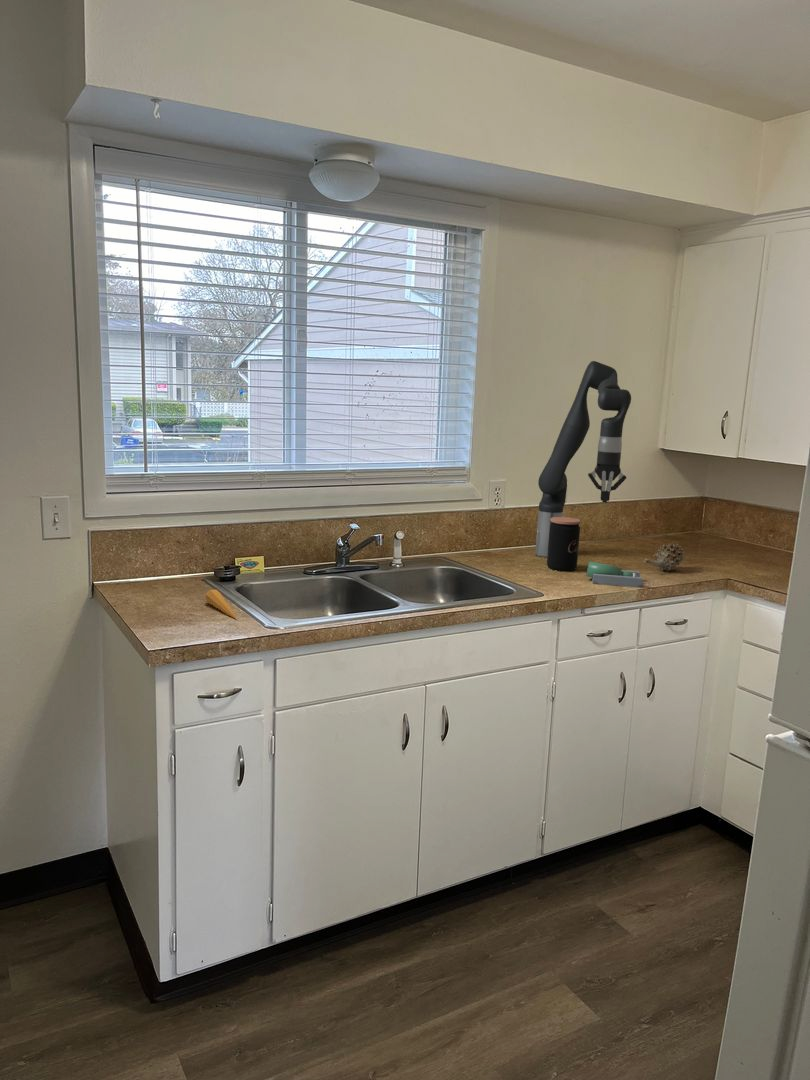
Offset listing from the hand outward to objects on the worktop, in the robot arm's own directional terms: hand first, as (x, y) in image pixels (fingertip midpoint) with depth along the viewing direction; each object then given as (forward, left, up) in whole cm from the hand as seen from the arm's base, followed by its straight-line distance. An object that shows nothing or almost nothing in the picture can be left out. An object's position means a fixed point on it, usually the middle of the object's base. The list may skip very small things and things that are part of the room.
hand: (604, 502), depth 275 cm
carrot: (-106, -72, -27) cm, 131 cm away
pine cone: (+24, +22, -27) cm, 42 cm away
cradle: (+6, 0, -27) cm, 28 cm away
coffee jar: (-12, +14, -27) cm, 33 cm away
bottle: (-4, 0, -23) cm, 23 cm away
